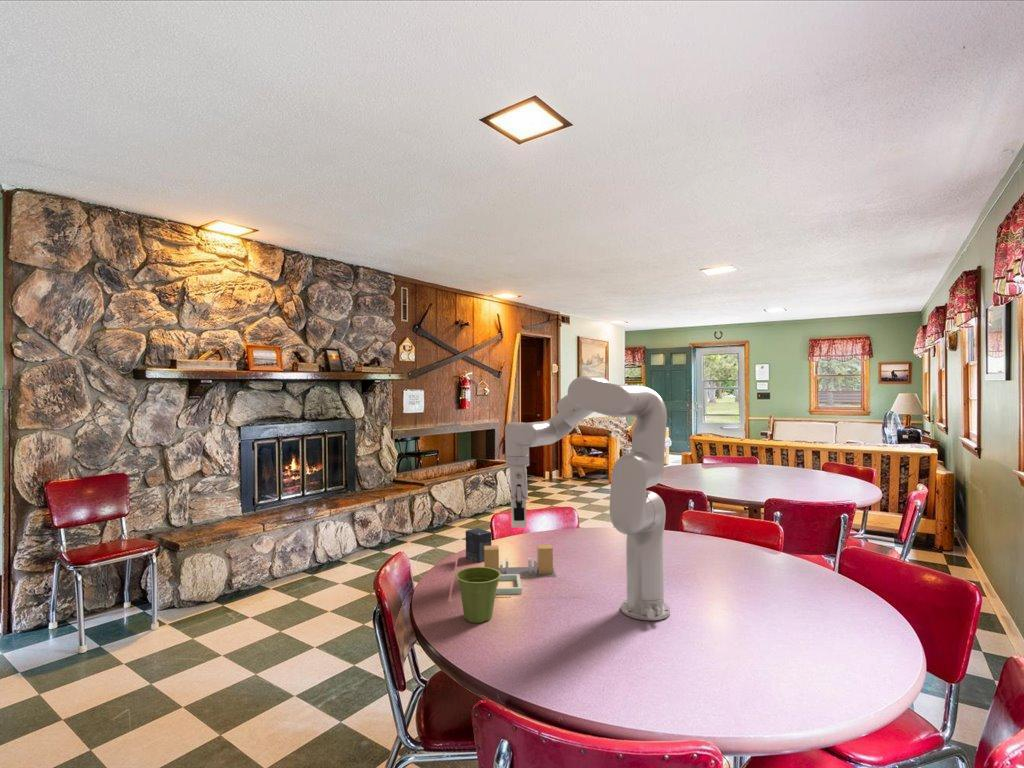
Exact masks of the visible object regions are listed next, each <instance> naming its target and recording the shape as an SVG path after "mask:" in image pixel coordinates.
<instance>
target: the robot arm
mask: <svg viewBox="0 0 1024 768" xmlns="http://www.w3.org/2000/svg"><path fill="white" fill-rule="evenodd" d="M556 407H557V413H556V414H554V416H552V417H550V418H549V419H547V420H544V421H533V422H523V421H522V422H519V421H517V422H515V421H512V422H507V423H506V424H505V426H504V435H505V436H504V440H505V447H504V448H505V467H507V468H508V467H509V483H510V492H511V493H512V497H513V498H514V503H515V508H514V520H515V521H524V507H523V495H524V497H525V498H526V499H528V497H529V496H528V494H529V493H528V474H527V473H528V472H527V471H528V470H527V467H529V466H530V448H534V447H541V446H547V445H548V446H549V445H552V444H555V443H556V442H559V441H560V440H561V439H563V438H564V437H566V436H567V435H569V434H570V433H571V432H572V431H573V430H574V428H575V427H576V425H577V424H578V423H579V422H580V421H583V420H584V419H586V418H587V417H589V416H590V415H591V414H593V413H597V414H601V415H604V416H607V417H611V418H612V417H613V418H629V417H635V418H636V421H635V424H634V427H633V430H632V436H631V450H630V453H626V454H624V455H621V456H620V457H619V458H618V459H617V460H616V461H615V463H614V465H613V468H612V470H611V471H612V472H611V479H610V493H609V518H610V519H609V520H610V521H611V524H612V526H613V527H614V528H615V530H617V532H619V533H621V534H622V535H626V542H625V543H626V544H625V547H626V550H625V553H626V554H625V555H626V557H625V558H626V559H625V561H626V566H625V567H626V569H625V570H626V599H625V600H624V601H622V602H621V604H620V609H621V612H622V613H623V614H624V615H626V616H627V617H630V618H631V619H635V620H640V621H650V622H651V621H661V620H664V619H666V618H668V617H669V616H670V615H671V608H670V606H669V605H668V604H667V603H665V595H664V591H665V585H664V532H665V526H666V525H665V524H666V517H667V516H666V515H667V512H666V505H665V503H664V500H663V499H662V497H661V496H660V495H659V494H658V493H656V492H654V491H651V490H647V489H648V488H651V487H654V486H656V485H658V484H659V483H660V482H661V481H662V479H663V476H664V467H665V454H666V452H665V449H666V433H667V431H666V430H667V423H668V422H667V420H668V416H667V415H668V414H667V412H668V411H667V407H666V405H665V401H664V400H663V398H662V397H661V395H659V393H658V392H656V391H655V390H654V389H652V388H650V387H648V386H644V385H641V384H615V383H610V381H609V380H608V379H606V378H604V377H601V376H592V375H591V376H589V375H586V376H585V375H583V376H581V375H580V376H578V377H576V378H574V379H573V380H572V381H570V384H569V385H568V388H567V394H566V395H564V396H563V397H562V398H560V399H559V400H558V401H557V406H556ZM511 493H510V494H511ZM515 493H516V494H515ZM516 496H517V498H516ZM521 496H522V498H521ZM516 500H517V501H516Z"/></svg>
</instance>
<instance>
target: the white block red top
mask: <svg viewBox="0 0 1024 768" xmlns="http://www.w3.org/2000/svg"><path fill="white" fill-rule="evenodd" d="M515 494H516V493H515ZM516 498H517V496H516ZM521 498H522V496H521ZM516 501H517V500H516ZM523 507H524V521H515V520H514V508H515V503H514V498H513V497H512V493H510V513H511V528H527V498H525V497H524V495H523Z"/></svg>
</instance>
